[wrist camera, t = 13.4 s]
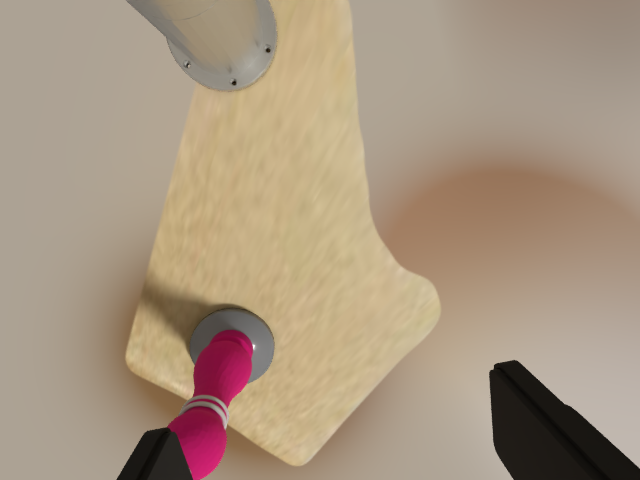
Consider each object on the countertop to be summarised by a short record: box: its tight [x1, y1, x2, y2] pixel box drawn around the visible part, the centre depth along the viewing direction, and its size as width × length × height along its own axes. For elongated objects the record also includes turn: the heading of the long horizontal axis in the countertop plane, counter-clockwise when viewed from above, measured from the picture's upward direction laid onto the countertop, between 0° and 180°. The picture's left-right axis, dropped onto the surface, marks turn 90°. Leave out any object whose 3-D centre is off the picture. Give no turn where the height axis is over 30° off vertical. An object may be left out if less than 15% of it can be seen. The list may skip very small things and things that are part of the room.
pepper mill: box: [168, 330, 253, 480], centre depth 35 cm, size 7×7×20 cm
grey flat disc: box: [190, 308, 274, 384], centre depth 45 cm, size 12×12×3 cm
